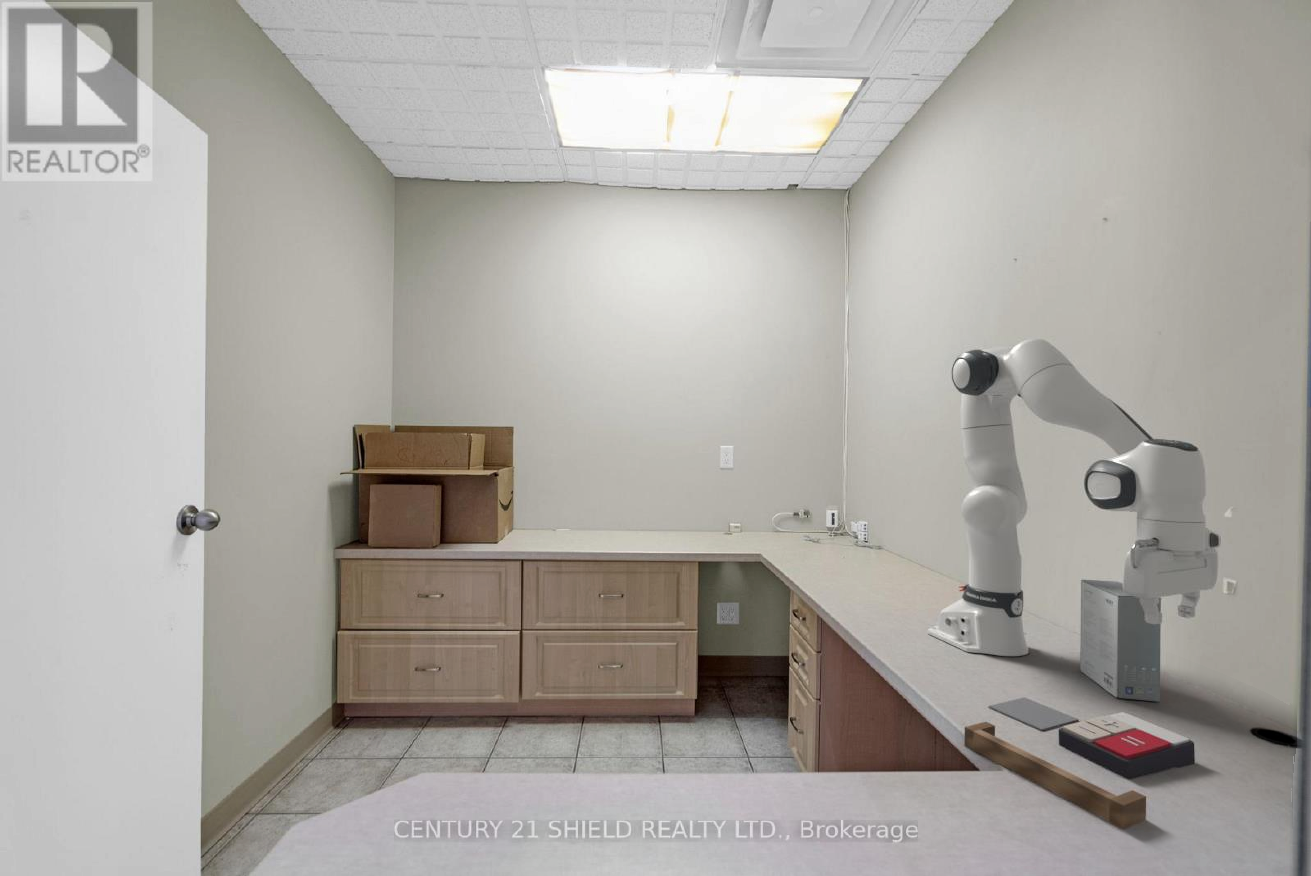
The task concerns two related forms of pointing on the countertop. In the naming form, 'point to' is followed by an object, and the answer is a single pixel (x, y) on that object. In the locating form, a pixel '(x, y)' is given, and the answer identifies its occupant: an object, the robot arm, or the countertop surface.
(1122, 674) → the hard drive box
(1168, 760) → the calculator
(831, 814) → the countertop surface
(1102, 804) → the brown wooden handle
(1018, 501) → the robot arm
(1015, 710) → the rest mat
